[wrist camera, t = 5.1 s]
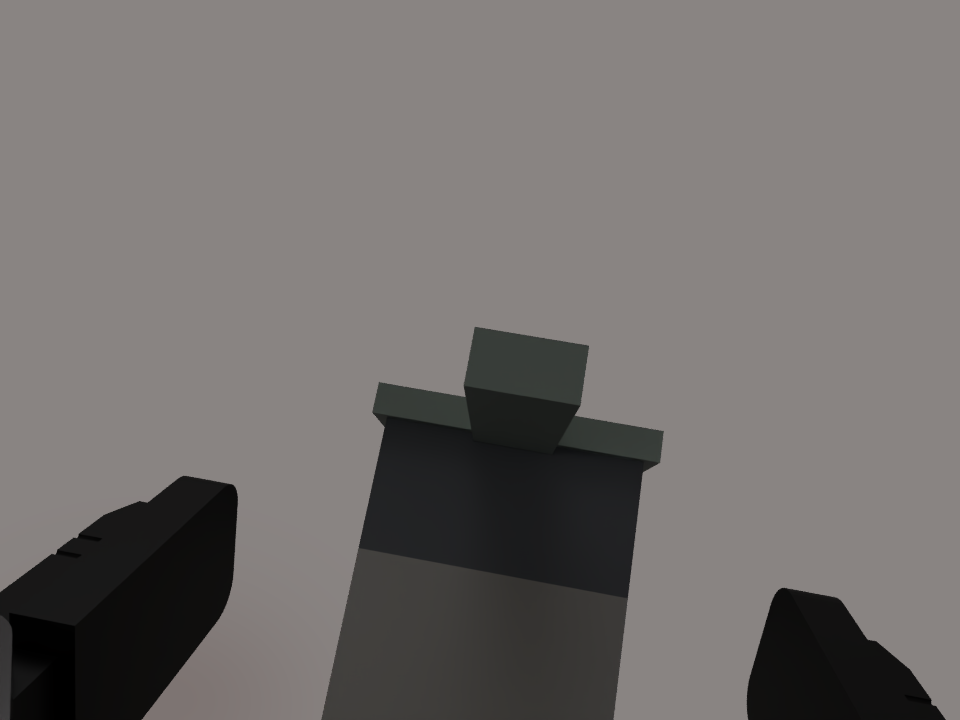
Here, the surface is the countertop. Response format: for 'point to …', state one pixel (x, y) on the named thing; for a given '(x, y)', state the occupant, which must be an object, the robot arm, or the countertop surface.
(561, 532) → the dark grey block
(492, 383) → the lid
